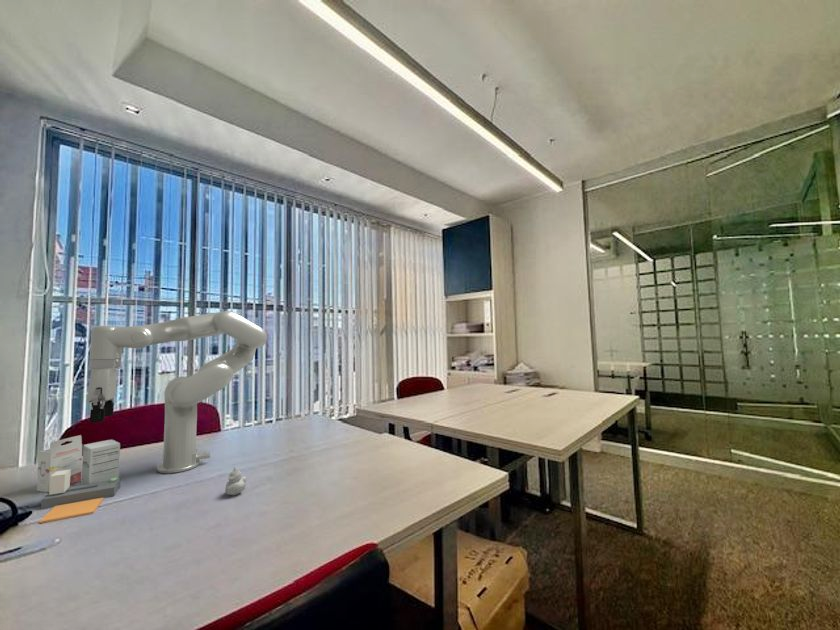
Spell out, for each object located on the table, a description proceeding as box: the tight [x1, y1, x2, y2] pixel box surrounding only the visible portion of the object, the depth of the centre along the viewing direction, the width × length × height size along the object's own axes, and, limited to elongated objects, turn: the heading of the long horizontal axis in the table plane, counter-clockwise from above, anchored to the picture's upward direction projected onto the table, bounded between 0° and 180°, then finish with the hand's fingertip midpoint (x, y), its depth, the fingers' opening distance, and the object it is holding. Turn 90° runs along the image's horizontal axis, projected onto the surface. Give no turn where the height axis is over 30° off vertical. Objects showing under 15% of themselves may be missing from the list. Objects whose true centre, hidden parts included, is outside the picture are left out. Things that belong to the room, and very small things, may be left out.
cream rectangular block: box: [48, 469, 71, 495], centre depth 97 cm, size 3×4×5 cm
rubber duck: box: [224, 466, 247, 496], centre depth 102 cm, size 5×7×8 cm
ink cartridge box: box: [36, 434, 83, 493], centre depth 107 cm, size 9×5×15 cm, turn 169°
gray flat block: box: [40, 477, 122, 510], centre depth 99 cm, size 15×7×3 cm, turn 119°
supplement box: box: [80, 439, 121, 485], centre depth 108 cm, size 7×7×13 cm
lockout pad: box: [39, 497, 105, 525], centre depth 92 cm, size 10×9×1 cm
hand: (101, 419), depth 109 cm, fingers open, 9 cm apart
